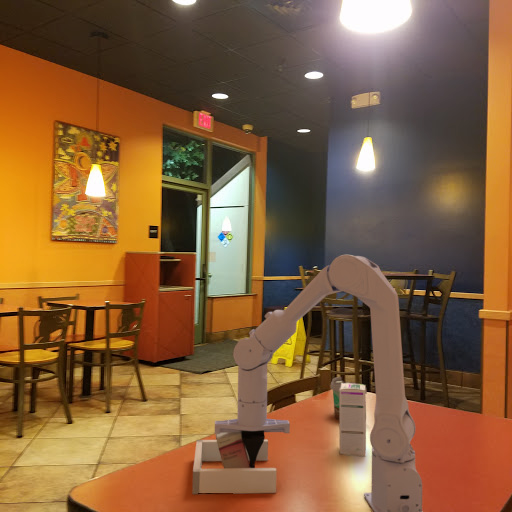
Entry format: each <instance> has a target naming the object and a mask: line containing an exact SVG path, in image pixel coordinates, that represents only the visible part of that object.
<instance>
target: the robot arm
mask: <svg viewBox="0 0 512 512" xmlns="http://www.w3.org/2000/svg"><path fill="white" fill-rule="evenodd" d="M339 292H344V293H347V294H349V295H353V296H354V297H356V298H357V299H358V300H360V301H361V302H362V303H363V304H365V305H366V306H368V308H369V309H370V312H369V313H370V323H371V324H370V325H371V338H372V355H373V369H374V372H373V373H374V384H375V385H374V386H375V396H376V397H375V404H374V405H375V406H374V413H373V414H374V415H373V416H374V423H373V427H372V429H371V431H370V434H369V441H370V445H371V486H370V488H371V489H370V490H371V492H364V493H363V497H364V498H365V500H366V501H367V503H368V505H369V507H371V509H372V511H373V512H424V511H423V481H422V477H421V475H420V473H419V472H418V471H417V468H416V451H415V450H414V448H413V445H412V444H411V441H412V439H413V438H414V437H415V434H416V422H415V421H414V418H413V417H412V415H411V413H410V410H409V407H410V406H409V402H408V400H407V397H406V391H405V378H404V377H405V375H404V363H403V348H402V333H401V332H402V331H401V330H402V329H401V319H400V306H399V303H400V302H399V296H398V293H397V291H396V289H395V288H394V287H393V285H392V284H391V283H390V282H389V280H388V279H387V277H386V276H385V275H384V273H383V272H382V271H381V269H380V267H379V265H378V264H376V263H374V262H373V261H372V260H370V259H368V258H367V257H365V256H362V255H361V256H360V255H352V254H342V255H339V256H337V257H336V258H334V259H333V260H332V262H331V264H330V265H329V264H328V265H326V266H325V267H324V268H322V269H321V270H320V272H318V274H317V275H315V277H314V278H313V279H311V281H310V282H309V283H308V284H307V285H306V286H305V287H304V288H303V289H302V290H301V292H300V293H299V294H297V296H296V297H295V298H294V299H293V300H292V301H291V302H290V303H289V305H288V306H287V307H285V309H283V310H282V309H275V310H274V311H268V312H266V314H265V315H264V318H265V319H264V321H262V322H261V324H260V325H258V326H257V327H256V328H255V329H254V328H253V329H251V330H250V331H249V332H248V334H249V338H248V337H247V338H245V337H244V338H243V339H242V338H241V339H239V340H238V342H237V343H236V344H235V346H234V348H233V353H232V355H233V359H234V362H235V364H236V365H237V370H238V374H237V418H233V419H225V420H215V421H214V434H215V435H216V434H220V433H238V432H241V437H242V441H243V443H244V445H245V448H246V450H247V453H248V456H249V460H250V461H249V464H250V468H256V465H255V464H256V462H257V461H256V458H257V455H258V452H259V450H260V448H261V446H262V444H263V442H264V439H265V438H266V436H265V433H283V434H290V431H291V429H290V427H291V426H290V424H291V423H290V421H289V420H288V419H273V418H272V419H271V418H267V417H268V363H269V362H270V361H271V359H272V358H273V354H274V353H276V352H277V350H279V349H281V347H282V346H283V345H284V344H285V343H286V342H287V341H288V340H289V339H290V338H291V337H292V336H293V335H294V334H295V333H296V332H297V325H298V324H297V322H298V321H299V320H301V319H302V318H303V317H304V316H305V315H306V314H307V313H308V312H310V311H311V310H312V309H313V308H315V306H316V305H318V304H319V303H320V302H321V301H322V300H324V299H325V298H326V297H327V296H329V295H332V294H336V293H339Z"/></svg>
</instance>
